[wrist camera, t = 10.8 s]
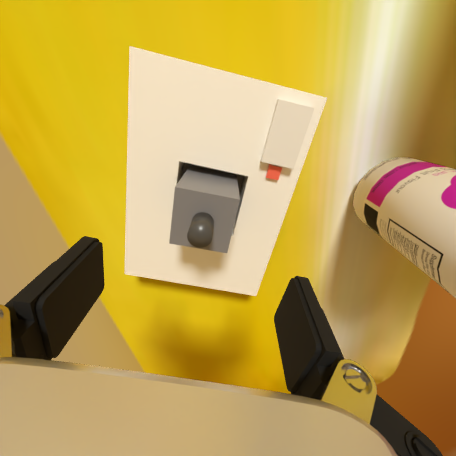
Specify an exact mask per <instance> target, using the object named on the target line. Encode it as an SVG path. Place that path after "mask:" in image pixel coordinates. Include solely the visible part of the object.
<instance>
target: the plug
mask: <svg viewBox="0 0 456 456" xmlns="http://www.w3.org/2000/svg"><path fill="white" fill-rule="evenodd" d="M239 202H240V196H239V188H238V181H237V174H233V173H228V172H223V171H218V170H213V169H208V168H203V167H198V166H193V165H190V166H189V168H188V169H187V170H186V172H185V173H184V175H183V176H182V178H181V179H180V180H179V182H178V183H177V185H176V186H175V192H174V201H173V211H172V221H171V230H170V240H169V244H175V245H181V246H187V247H193V248H199V249H204V250H210V251H216V252H222V253H227V252H228V248H229V244H230V240H231V235H232V231H233V227H234V223H235V219H236V215H237V210H238V206H239Z"/></svg>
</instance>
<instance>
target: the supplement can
mask: <svg viewBox="0 0 456 456" xmlns="http://www.w3.org/2000/svg"><path fill="white" fill-rule="evenodd" d="M353 207H354V210H355V213H356V215H357V217H358V218H359V219H360V220H361V221H362V222H363V223H364V224H366V225H367V226H368V227H369V228H371V229H372V230H373V231H374V232H375V233H377V234H378V235H379V236H380V237H382V238H383V239H384V240H385V241H386V242H388V243H389V244H390V245H391V246H393V247H394V248H395V249H396V250H397V251H399V252H400V253H401V254H402V255H403V256H405V257H406V258H407V259H408V260H410V261H411V262H412V263H413V264H414V265H416V266H417V267H418V268H419V269H421V270H422V271H423V272H424V273H425V274H427V275H428V276H429V277H430V278H432V279H433V280H434V281H435V282H437V283H438V284H439V285H440V286H441V287H442V288H444V289H445V290H446V291H447V292H449V293H450V294H451V295H453V297H455V298H456V169H453V168H449V167H445V166H441V165H437V164H433V163H429V162H425V161H421V160H417V159H414V158H405V157H396V158H393V159H389V160H386V161H383V162H381V163H380V164H378V165H377V166H375V167H374V168H372V169H371V170H369V171H368V173H367V174H366V175H365V176H364V177H363V178H362V179H361V180H360V182H359V184H358V186H357V188H356V190H355V193H354V200H353Z"/></svg>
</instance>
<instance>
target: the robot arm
mask: <svg viewBox="0 0 456 456" xmlns="http://www.w3.org/2000/svg"><path fill="white" fill-rule="evenodd" d="M103 289H104V268H103V247H102V243H101V242H99V240H98V239H97V238H92V237H86V236H84V237H82V238H81V239H80V240H79V241H78V242H77V243H76V244H74V245H73V246H72V247H71V248H70V249H69V250H68V251H67V252H66V253H64V254H63V255H62V256H61V257H60V258H59V259H58V260H57V261H55V262H53V263H52V264H51V265H50V266H48V267H47V268H46V269H45V270H44V271H43V272H42V273H41V274H40V275H38V276H37V277H36V278H35V279H34V280H33V281H31V282H30V283H29V284H28V285H27V286H26V287H25V288H24V289H22V290H21V291H20V292H19V293H18V294H17V295H16V296H15V297H14V298H12V299H11V300H10V301H9V302H8V303H7V304H6V305H0V456H442V454H441V452H440V451H439V450H438V448H437V447H436V446H435V444H434V443H433V442H432V441H431V440H430V439H429V438H428V437H427V436H426V435H424V434H423V433H422V432H421V431H420V430H418V429H417V428H416V427H415V426H414V425H413V424H411V423H410V422H409V421H408V420H407V419H405V418H404V417H403V416H402V415H401V414H399V413H398V412H397V411H396V410H395V409H394V408H392V407H391V406H390V405H389V404H387V403H386V402H385V401H384V400H383V399H382V398H381V397H379V396H378V395H377V387H376V384H375V381H374V380H373V378H372V376H371V375H370V374H369V372H368V371H367V370H366V369H365V368H364V367H362V366H361V365H360V364H358V363H357V362H355V361H352V360H349V359H344V357H343V355H342V353H341V350H340V348H339V346H338V343H337V341H336V339H335V337H334V334H333V332H332V330H331V327H330V325H329V323H328V321H327V318H326V316H325V314H324V311H323V310H322V308H321V307H320V305H319V302H318V300H317V298H316V295H315V293H314V291H313V288H312V286H311V284H310V281H309V279H308V278H305V277H299V276H296V277H295V278H292V279H291V280H290V282H289V284H288V286H287V289H286V291H285V293H284V295H283V297H282V300H281V302H280V304H279V306H278V309H277V311H276V313H275V316H274V322H275V327H276V333H277V338H278V343H279V348H280V354H281V359H282V364H283V369H284V375H285V380H286V385H287V389H288V391H291V394H286V393H280V392H274V391H268V390H261V389H255V388H248V387H241V386H234V385H227V384H221V383H214V382H207V381H200V380H193V379H186V378H179V377H172V376H165V375H158V374H151V373H143V372H136V371H129V370H121V369H113V368H107V367H99V366H92V365H85V364H77V363H68V362H59V361H52V360H51V359H52V358H56V357H57V356H58V355H59V354H60V352H61V351H62V349H63V348H64V346H65V345H66V344H67V342H68V341H69V339H70V338H71V336H72V335H73V333H74V332H75V331H76V329H77V327H78V326H79V325H80V323H81V322H82V320H83V319H84V317H85V316H86V315H87V313H88V311H89V310H90V309H91V307H92V306H93V304H94V303H95V302H96V300H97V299H98V297H99V296H100V294H101V293H102V291H103Z"/></svg>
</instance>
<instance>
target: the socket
mask: <svg viewBox="0 0 456 456" xmlns="http://www.w3.org/2000/svg"><path fill="white" fill-rule="evenodd" d="M326 100H327V98H326V97H322V96H318V95H314V94H311V93H307V92H303V91H299V90H295V89H291V88H288V87H284V86H280V85H276V84H272V83H269V82H265V81H261V80H257V79H253V78H249V77H246V76H242V75H238V74H234V73H230V72H227V71H223V70H219V69H215V68H211V67H207V66H204V65H200V64H196V63H192V62H188V61H185V60H181V59H177V58H173V57H169V56H165V55H162V54H158V53H154V52H150V51H146V50H143V49H139V48H135V47H131V46H130V54H129V99H128V144H127V189H126V234H125V274H127V275H133V276H139V277H145V278H151V279H157V280H163V281H169V282H175V283H181V284H187V285H193V286H199V287H205V288H211V289H217V290H223V291H229V292H235V293H241V294H247V295H252V296H256V295H257V292H258V289H259V286H260V284H261V281H262V278H263V275H264V272H265V270H266V267H267V264H268V261H269V259H270V256H271V253H272V250H273V247H274V245H275V242H276V239H277V236H278V234H279V231H280V228H281V225H282V222H283V220H284V217H285V214H286V211H287V208H288V206H289V203H290V200H291V197H292V195H293V192H294V189H295V186H296V183H297V181H298V178H299V175H300V172H301V169H302V167H303V164H304V161H305V158H306V156H307V153H308V150H309V147H310V144H311V142H312V139H313V136H314V133H315V131H316V128H317V125H318V122H319V119H320V117H321V114H322V111H323V108H324V105H325V103H326ZM190 165H193V166H198V167H203V168H208V169H213V170H218V171H223V172H228V173H233V174H237V181H238V188H239V196H240V202H239V206H238V210H237V215H236V219H235V223H234V227H233V231H232V235H231V240H230V244H229V248H228V252H227V253H222V252H216V251H210V250H204V249H199V248H193V247H187V246H181V245H175V244H169V240H170V230H171V221H172V211H173V201H174V192H175V186H176V185H177V183H178V182H179V180H180V179H181V178H182V176H183V175H184V173H185V172H186V170H187V169H188V168H189V166H190Z"/></svg>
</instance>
